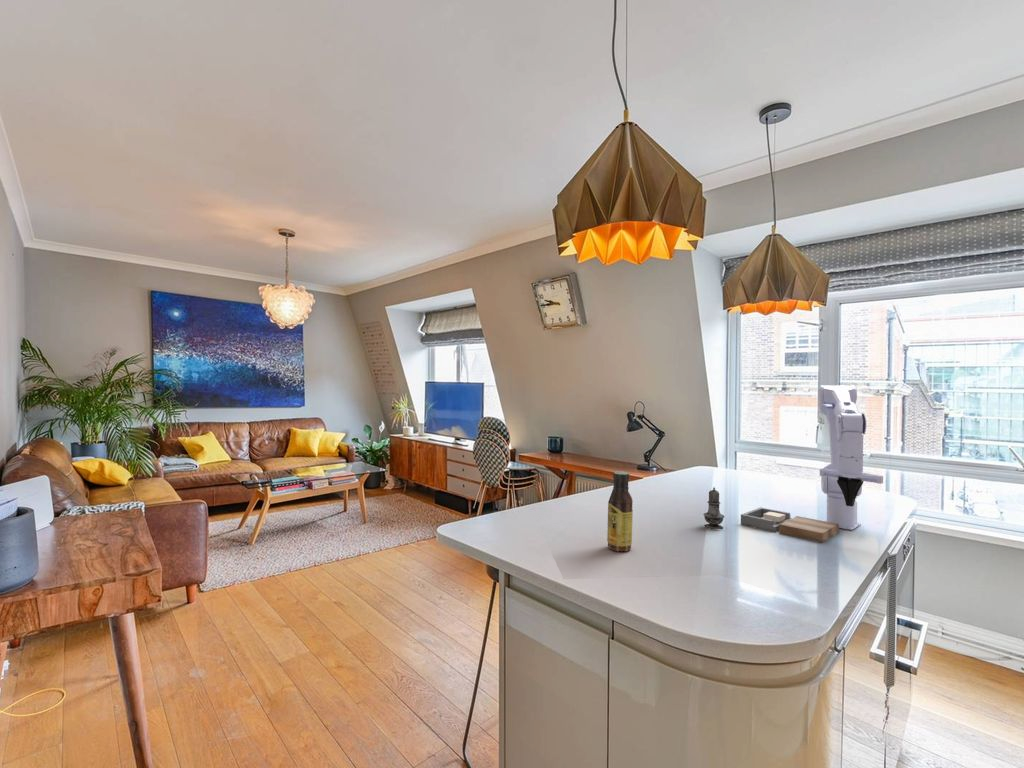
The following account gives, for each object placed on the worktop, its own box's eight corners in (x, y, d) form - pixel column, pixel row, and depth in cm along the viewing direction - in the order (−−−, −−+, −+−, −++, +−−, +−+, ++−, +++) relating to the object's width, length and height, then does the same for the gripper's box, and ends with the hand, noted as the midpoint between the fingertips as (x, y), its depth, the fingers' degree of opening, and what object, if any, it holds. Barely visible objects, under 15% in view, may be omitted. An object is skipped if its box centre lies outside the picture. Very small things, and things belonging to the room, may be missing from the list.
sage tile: (766, 520, 153) (766, 515, 153) (781, 523, 150) (781, 518, 150) (760, 523, 150) (760, 518, 150) (775, 526, 147) (776, 521, 147)
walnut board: (797, 524, 151) (797, 516, 151) (838, 532, 143) (838, 523, 143) (779, 533, 142) (779, 524, 142) (822, 542, 134) (822, 533, 134)
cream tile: (769, 516, 153) (769, 511, 153) (785, 519, 149) (785, 514, 149) (763, 518, 150) (763, 513, 150) (779, 522, 146) (779, 517, 146)
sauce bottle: (604, 545, 130) (605, 469, 130) (627, 544, 130) (628, 469, 130) (611, 553, 123) (612, 474, 123) (635, 553, 124) (636, 474, 124)
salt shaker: (726, 530, 144) (726, 489, 144) (705, 529, 145) (705, 488, 145) (722, 525, 150) (722, 485, 150) (701, 523, 151) (701, 484, 151)
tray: (760, 516, 159) (760, 507, 159) (793, 523, 152) (793, 513, 152) (740, 524, 150) (740, 514, 150) (775, 532, 143) (775, 521, 143)
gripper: (816, 454, 139) (815, 502, 139) (878, 461, 128) (877, 513, 128) (824, 452, 144) (824, 499, 144) (885, 458, 133) (884, 508, 133)
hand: (849, 505), depth 137 cm, fingers closed
